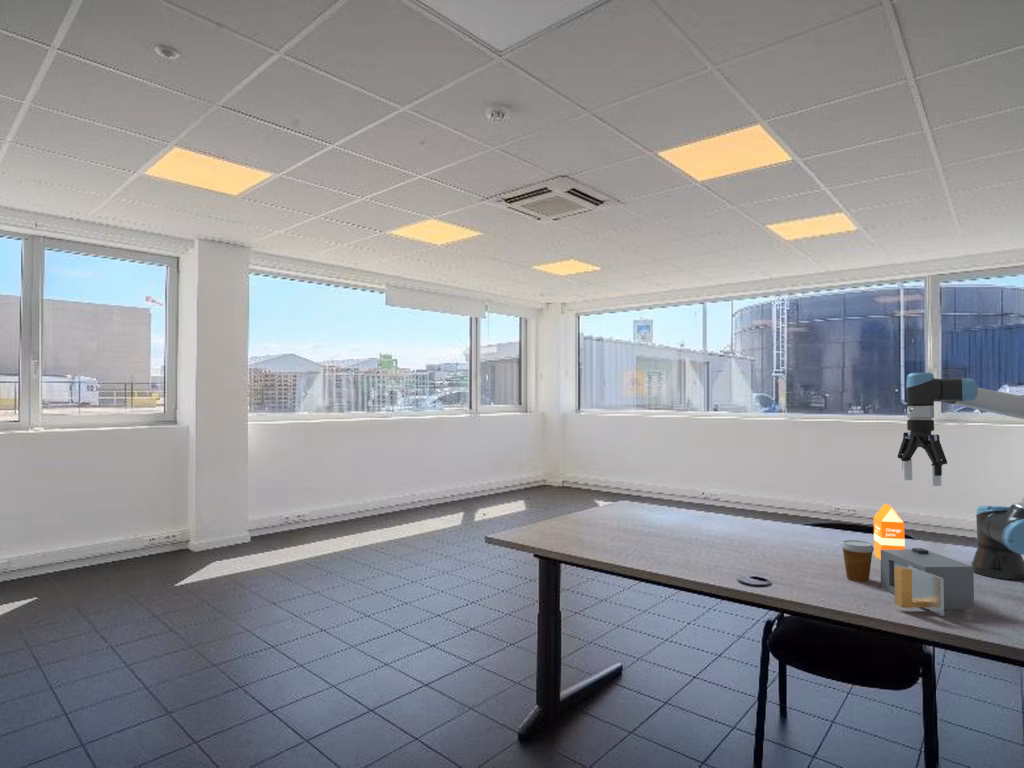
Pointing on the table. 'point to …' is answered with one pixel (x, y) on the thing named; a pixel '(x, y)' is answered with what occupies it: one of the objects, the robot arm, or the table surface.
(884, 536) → the orange juice
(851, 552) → the disposable coffee cup
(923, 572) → the side cover
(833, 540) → the table surface
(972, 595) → the open-sided grey enclosure
